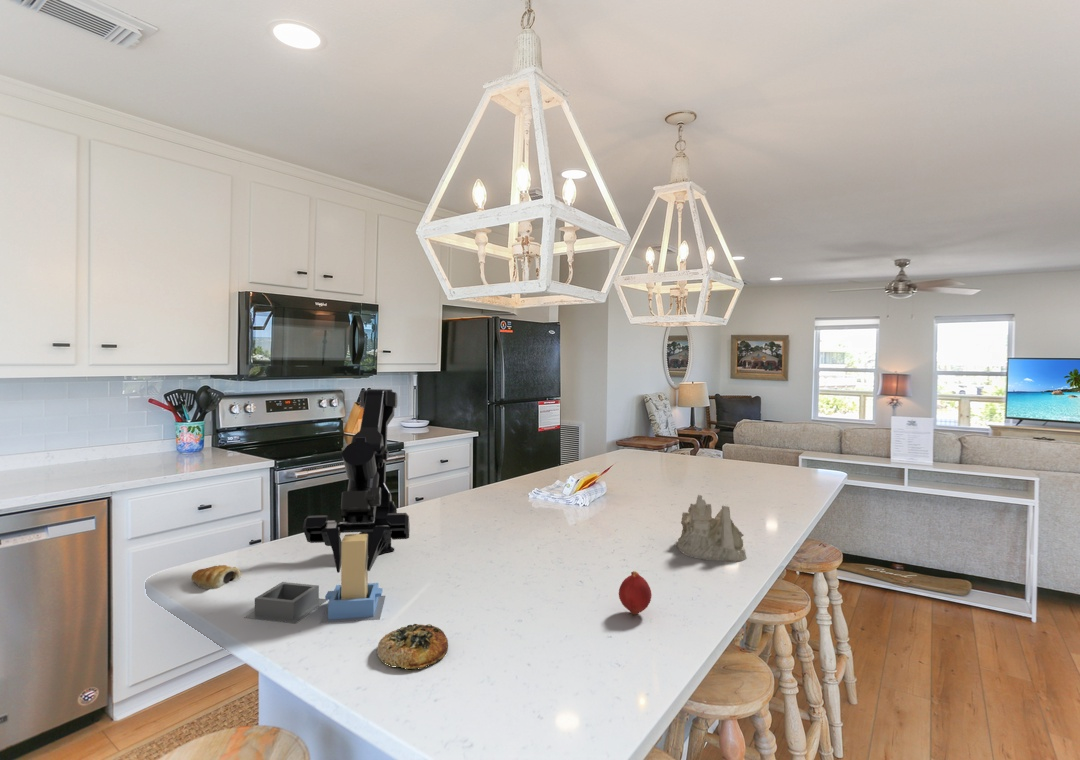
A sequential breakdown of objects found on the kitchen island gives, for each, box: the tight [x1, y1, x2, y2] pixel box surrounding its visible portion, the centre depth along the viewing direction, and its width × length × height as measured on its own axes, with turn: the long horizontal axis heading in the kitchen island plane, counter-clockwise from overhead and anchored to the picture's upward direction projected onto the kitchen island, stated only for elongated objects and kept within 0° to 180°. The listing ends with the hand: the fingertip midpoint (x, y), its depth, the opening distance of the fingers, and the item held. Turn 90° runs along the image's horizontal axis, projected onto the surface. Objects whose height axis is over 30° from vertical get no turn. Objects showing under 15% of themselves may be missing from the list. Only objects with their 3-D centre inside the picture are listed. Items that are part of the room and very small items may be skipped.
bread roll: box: [377, 623, 449, 670], centre depth 88 cm, size 11×11×5 cm
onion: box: [618, 570, 653, 616], centre depth 102 cm, size 6×6×8 cm
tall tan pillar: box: [340, 533, 369, 600], centre depth 102 cm, size 4×4×13 cm
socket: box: [243, 581, 328, 624], centre depth 102 cm, size 10×10×4 cm
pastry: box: [191, 564, 242, 591], centre depth 114 cm, size 9×7×4 cm
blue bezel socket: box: [319, 582, 386, 624], centre depth 102 cm, size 10×10×4 cm
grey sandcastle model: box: [676, 493, 748, 563], centre depth 139 cm, size 16×16×15 cm
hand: (353, 570), depth 100 cm, fingers open, 5 cm apart
